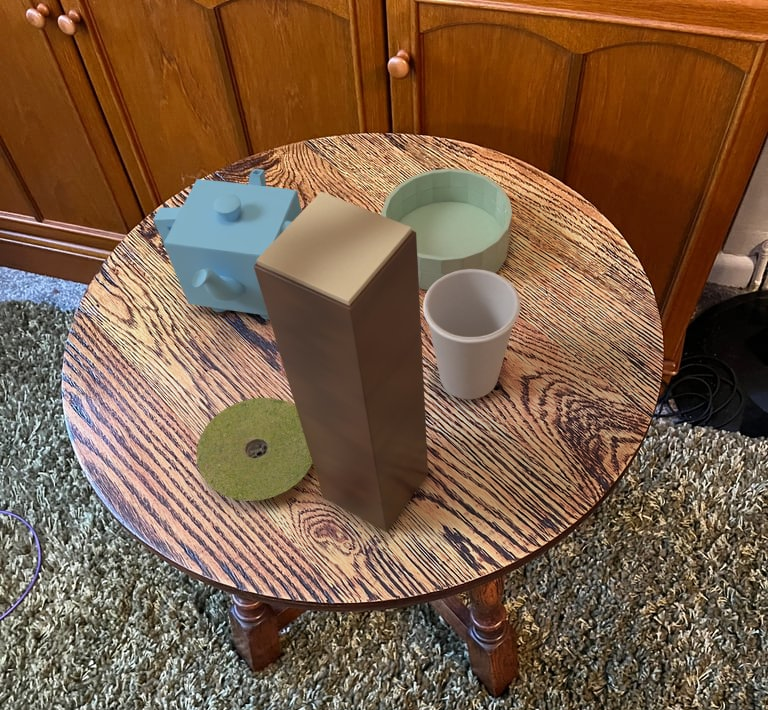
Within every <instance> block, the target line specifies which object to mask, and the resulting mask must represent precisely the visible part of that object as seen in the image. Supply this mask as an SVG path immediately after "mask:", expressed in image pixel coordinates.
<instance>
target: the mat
mask: <svg viewBox="0 0 768 710" xmlns="http://www.w3.org/2000/svg"><path fill="white" fill-rule="evenodd" d="M195 454H196V464H197V467H198V471H199V473H200V476H201V478H202V479H203V480H204V481H205V483H206V484H207V485H208V486H209V487H210V488H212V490H213V491H216V492H217V493H218V494H220V495H222V496H224V497H227V498H228V499H233V500H236V501H244V502H248V501H249V502H256V501H258V502H260V501H264V500H267V499H272V498H273V497H277V496H279V495H281V494H283V493H286V492H287V491H288V490H291V488H293V487H294V486H295V485H297V484H298V483H299V482H301V481H302V479H303V478H304V477H305V476H306V474H307V473H308V472H309V470H310V469H311V467H312V465H313V462H312V459H311V456H310V453H309V449H308V446H307V443H306V439H305V436H304V433H303V429H302V426H301V423H300V419H299V416H298V413H297V409H296V406H295V403H291V402H289V401H288V400H287V401H286V400H283V399H279V398H272V397H256V398H248V399H245V400H241V401H239V402H236V403H234V404H232V405H230V406H228V407H226V408H224V409H223V410H222V411H220V412H219V413H218V414H216V415H215V416H214V417H213V418H212V419H211V420H210V421H209V422H208V423H207V425H205V428H204V429H203V431H202V433H201V435H200V437H199V440H198V443H197V447H196V453H195Z"/></svg>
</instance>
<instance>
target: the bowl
mask: <svg viewBox="0 0 768 710" xmlns="http://www.w3.org/2000/svg"><path fill="white" fill-rule="evenodd" d="M380 215H382V216H384V217H387V218H389V219H392V220H394V221H397V222H399V223H402V224H404V225H407V226H409V227H411V228H412V231H415V232H416V237H417V257H418V277H419V289H421V290H424V291H428V290H429V288H430V287H431V286H432V285H433V284H434V283H435V282H436V281H437V280H439V279H440V278H442V277H443V276H445V275H447V274H449V273H452V272H455V271H459V270H465V269H480V270H486V271H490V272H493V273H496V274H497V272H499V270H501V268H502V266H503V265H504V264H505V261H506V259H507V257H508V254H509V250H510V249H509V248H510V243H511V235H512V223H513V208H512V203H511V199H510V197H509V195H508V194H507V193H506V192H505V190H504V189H503V187H502V186H501V185H500V184H498V183H497V182H495V181H494V180H493V179H491V178H490V177H488V176H487V175H483V174H481V173H478V172H475V171H472V170H469V169H468V170H467V169H461V168H460V169H459V168H452V167H451V168H450V167H449V168H440V169H430V170H427V171H424V172H422V173H418V174H415V175H413V176H411V177H409V178H408V179H406V180H404V181H403V182H401V183H400V184H397V185H396V187H395V188H393V190H392V191H391V192H390V193H389V195H388V196H387V197H386V199H385V201H384V204H383V206H382V209H381V213H380Z"/></svg>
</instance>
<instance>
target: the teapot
mask: <svg viewBox="0 0 768 710" xmlns="http://www.w3.org/2000/svg"><path fill="white" fill-rule="evenodd" d="M302 211H303V210H302V206H301V201H300V197H299V192H298V190H296V189H290V188H283V187H275V186H267V179H266V171H265V169H261V168H260V169H259V168H254V169H253V170H252V171H251V172H250V173H249V178H248V183H239V182H229V181H221V180H211V179H201V178H198V179H197V178H196V180H195V182H194V184H193V186H192V188H191V190H190V191H189V193H188V195H187V197H186V198H185V201H184V203H183V204H182V206H177V207H176V206H171V207H170V206H169V207H159V208H158V210H157V211H156V213H155V214H154V217H153V218H152V219H153V220H152V221H153V223H154V226H155V228H156V230H157V232H158V234H159V236H160V238H161V241H162V243H163V246H164V250H165V251H166V254H167V256H168V259H169V261H170V263H171V264H170V265H172V269H173V270H174V273H175V275H176V277H177V280H178V283H179V285H180V287H181V290H182V292H183V294H184V296H185V299H186V301H187V303H188V305H192V306H200V307H205V308H210V309H211V311H213V312H216V313H223V312H226V311H234V312H240V313H246V314H247V313H248V314H254V315H259V316H260V317H261V319H264V320H270V319H269V316H268V313H267V310H266V306H265V303H264V300H263V296H262V293H261V290H260V286H259V283H258V280H257V276H256V273H255V270H254V265H255V264H256V263H257V259H258V258H259V257H260V255H261V254H262V253H263V252H264V251H265V250H266V249H267V248H268V247H269V246H270V245H271V244H272V243H273V242H274V241H275V240H276V239H277V238H278V236H279V235H280V234H281V233H282V232H283V231H284V230H285V229H286V228H287V227H288V226H289V225H290V224H291V223H292V222H293V221H294V220H295V219H296V217H297V216H298V215H299V214H300V213H301V212H302Z"/></svg>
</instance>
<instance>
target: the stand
mask: <svg viewBox="0 0 768 710" xmlns="http://www.w3.org/2000/svg"><path fill="white" fill-rule="evenodd" d="M301 211H302V212H301V213H300V214H299V215H298V216H297V217H296V219H295V220H294V221H293V222H292V223H291V224H290V225H289V226H288V227H287V228H286V229H285V230H284V231H283V232H282V233H281V234H280V235H279V236H278V238H277V239H276V240H275V241H274V242H273V243H272V244H271V245H270V246H269V247H268V248H267V249H266V250H265V251H264V252H263V253H262V254H261V255H260V257H259V258H258V259H257V263H256V264H255V265H254V270H255V273H256V276H257V280H258V283H259V286H260V290H261V293H262V296H263V300H264V303H265V306H266V310H267V313H268V316H269V319H268V320H269V323H270V326H271V330H272V332H273V335H274V339H275V342H276V346H277V349H278V352H279V356H280V359H281V363H282V366H283V369H284V372H285V376H286V380H287V383H288V386H289V389H290V393H291V395H292V400H293V402H294V403H293V404H294V405H295V406H296V409H297V413H298V416H299V419H300V423H301V426H302V429H303V433H304V436H305V439H306V443H307V446H308V449H309V453H310V456H311V459H312V462H313V463H312V465H313V469H314V472H315V476H316V479H317V482H318V485H319V489H320V492H321V495H322V498H323V499H325V500H327V501H329V502H331V503H332V504H334V505H336V506H338V507H340V508H341V509H343V510H345V511H347V512H349V513H350V514H352V515H354V516H356V517H358V518H359V519H360V520H363V521H365V522H366V523H369V524H370V525H373V526H374V527H375V528H378V529H380V530H381V531H383V532H385V533H388V532H389V530H390V529H391V527H392V526H393V525H394V523H395V522H396V521H397V519H398V518H399V517H400V515H401V514H402V512H403V511H404V510H405V508H406V506H407V505H408V504H409V502H410V501H411V500H412V498H413V497H414V495H415V494H416V493H417V491H418V489H419V488H421V486H422V483H423V482H424V481H425V480H426V478H427V477H428V475H429V458H428V439H427V438H428V437H427V436H428V435H427V419H426V400H425V399H426V398H425V379H424V359H423V340H422V337H423V336H422V322H421V319H422V318H421V300H420V288H419V277H418V257H417V237H416V232H415V231H412V228H411V227H409V226H407V225H404V224H402V223H399V222H397V221H394V220H392V219H389V218H387V217H384V216H382V215H381V214H379V213H377V212H374V211H371V210H369V209H366V208H364V207H361V206H358V205H356V204H354V203H352V202H350V201H346V200H344V199H341V198H339V197H336V196H334V195H331V194H329V193H326V192H324V191H320V192H319V193H318V194H317V195H316V196H315V197H314V198H313V199H312V201H310V202H309V204H307V206H305V208H304V209H303V210H301Z"/></svg>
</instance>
